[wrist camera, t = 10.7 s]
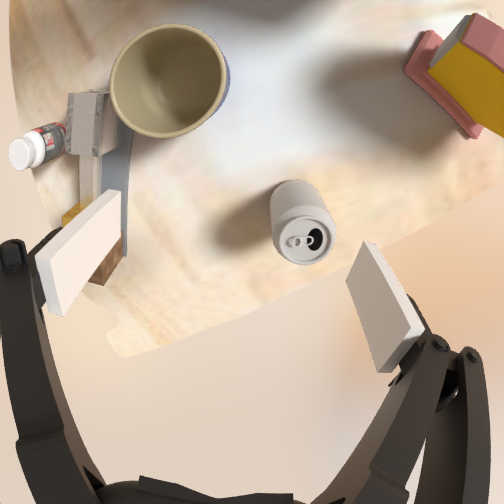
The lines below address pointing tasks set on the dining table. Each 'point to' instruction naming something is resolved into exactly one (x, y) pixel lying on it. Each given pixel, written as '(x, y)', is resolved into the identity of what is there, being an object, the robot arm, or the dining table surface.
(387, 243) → the dining table surface
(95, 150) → the sleeve
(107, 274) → the socket
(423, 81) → the yellow fan-shaped sign
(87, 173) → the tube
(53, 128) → the pill bottle
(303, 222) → the can
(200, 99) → the planter
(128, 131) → the board
